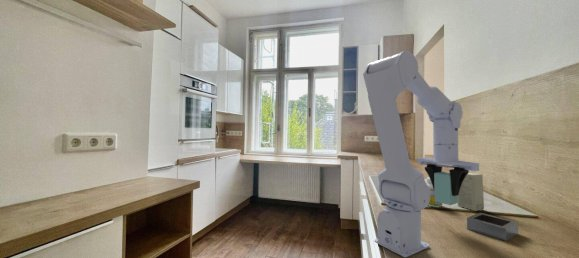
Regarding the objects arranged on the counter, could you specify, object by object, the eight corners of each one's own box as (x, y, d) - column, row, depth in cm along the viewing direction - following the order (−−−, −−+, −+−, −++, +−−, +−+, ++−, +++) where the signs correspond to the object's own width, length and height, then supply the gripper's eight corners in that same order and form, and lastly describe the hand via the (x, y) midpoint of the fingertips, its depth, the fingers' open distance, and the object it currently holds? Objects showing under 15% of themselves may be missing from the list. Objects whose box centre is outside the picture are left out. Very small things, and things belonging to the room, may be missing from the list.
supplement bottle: (425, 201, 84) (425, 176, 85) (442, 204, 81) (442, 178, 81) (423, 205, 80) (423, 178, 80) (441, 208, 77) (441, 180, 77)
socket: (506, 241, 54) (506, 228, 54) (467, 228, 61) (466, 217, 61) (518, 233, 58) (517, 222, 58) (480, 222, 65) (479, 212, 65)
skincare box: (484, 210, 75) (484, 174, 75) (475, 211, 74) (474, 175, 74) (465, 204, 81) (464, 171, 81) (456, 205, 80) (455, 171, 80)
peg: (450, 205, 59) (450, 175, 59) (434, 201, 63) (434, 172, 63) (457, 202, 61) (457, 173, 61) (442, 199, 65) (441, 171, 65)
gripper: (484, 145, 58) (484, 197, 58) (426, 143, 70) (427, 186, 70) (471, 146, 54) (472, 202, 54) (413, 143, 67) (414, 188, 67)
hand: (445, 193), depth 62 cm, fingers closed on peg, 4 cm apart
